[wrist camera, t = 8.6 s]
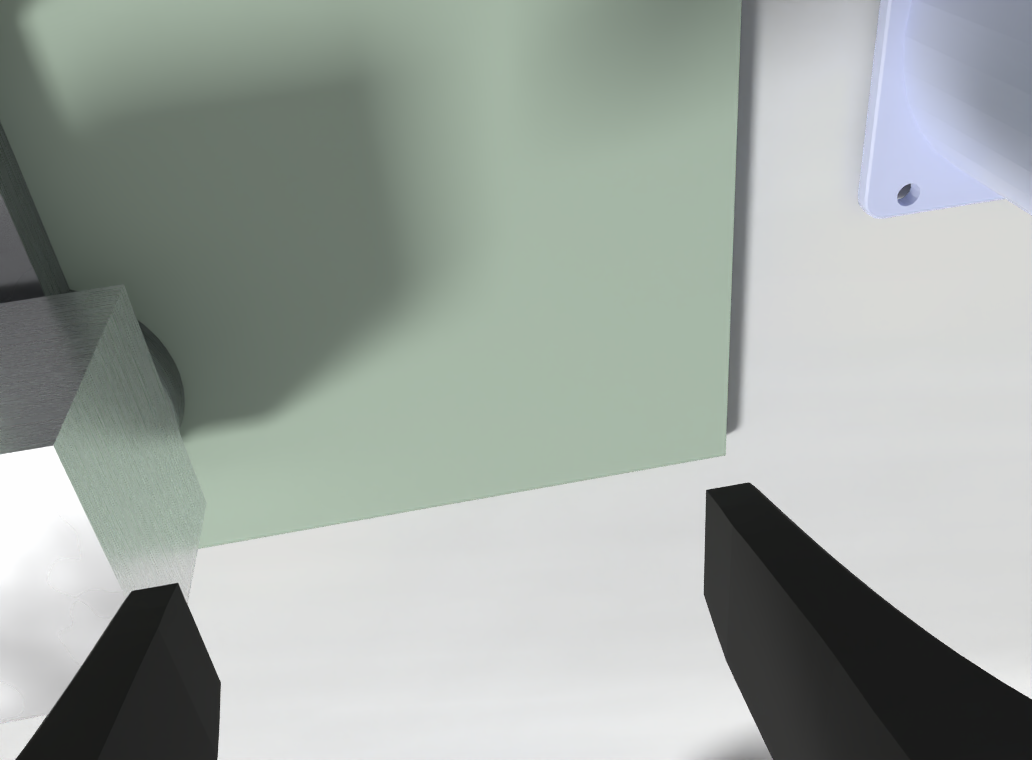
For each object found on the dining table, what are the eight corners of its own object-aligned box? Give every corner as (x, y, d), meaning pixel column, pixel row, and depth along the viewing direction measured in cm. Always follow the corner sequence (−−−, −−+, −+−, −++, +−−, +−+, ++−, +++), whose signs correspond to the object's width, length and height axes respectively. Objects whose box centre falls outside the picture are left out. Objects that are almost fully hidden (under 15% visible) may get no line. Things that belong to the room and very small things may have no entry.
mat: (756, -890, 12) (774, -917, 12) (717, 441, 24) (725, 455, 24) (-1522, -733, 10) (-1616, -758, 10) (-323, 624, 22) (-338, 643, 22)
